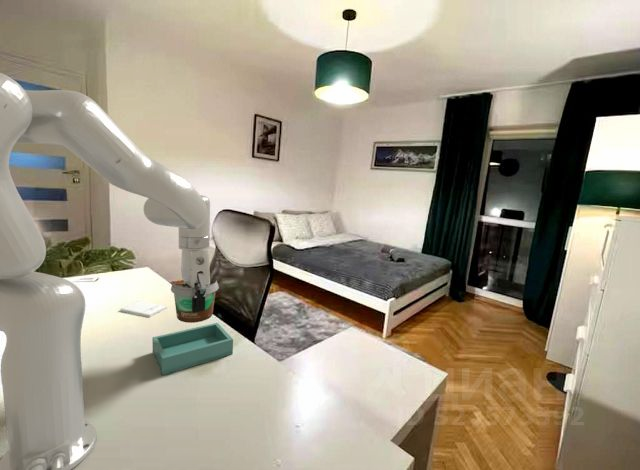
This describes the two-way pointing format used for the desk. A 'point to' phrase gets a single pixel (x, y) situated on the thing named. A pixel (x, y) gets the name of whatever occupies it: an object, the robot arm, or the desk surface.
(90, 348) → the desk surface
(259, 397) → the desk surface
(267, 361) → the desk surface
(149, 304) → the external hard drive
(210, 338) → the bin
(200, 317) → the food container
